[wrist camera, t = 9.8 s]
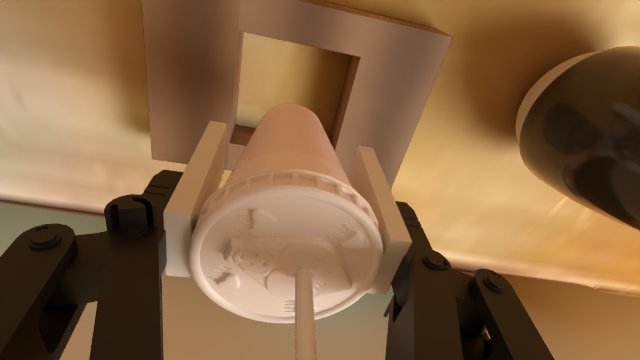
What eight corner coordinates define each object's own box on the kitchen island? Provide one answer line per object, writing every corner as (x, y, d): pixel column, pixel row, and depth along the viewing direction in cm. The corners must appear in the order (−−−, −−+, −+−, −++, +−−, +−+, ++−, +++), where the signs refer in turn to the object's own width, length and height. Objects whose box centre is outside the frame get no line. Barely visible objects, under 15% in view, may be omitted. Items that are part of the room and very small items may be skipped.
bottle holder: (165, 139, 26) (152, 159, 24) (158, -39, 20) (139, -38, 17) (381, 172, 29) (389, 193, 27) (435, 28, 23) (452, 37, 21)
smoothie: (316, 195, 21) (342, 482, 10) (217, 159, 19) (101, 461, 8) (368, 109, 18) (497, 374, 7) (257, 56, 16) (165, 297, 5)
